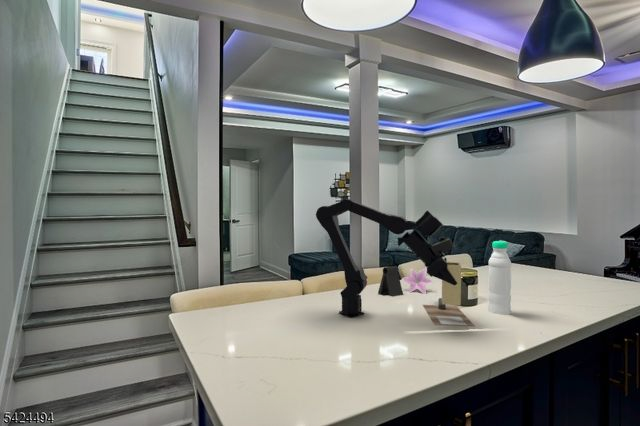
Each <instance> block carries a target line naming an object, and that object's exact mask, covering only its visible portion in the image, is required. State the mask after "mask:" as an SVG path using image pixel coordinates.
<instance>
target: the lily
mask: <svg viewBox="0 0 640 426" xmlns="http://www.w3.org/2000/svg"><path fill="white" fill-rule="evenodd" d="M427 274H428V273H427V267H424V268H422V269H420V270H419V271H418V272H417V271H416V270H414V269H412V268H410V275H408V276H404V277H402V278H401V279H400V281H403V282H404V283H406V284H409V285H410V286H409V290H408V292H409V293H411V292H413V291H415V290H418V291H420V292H421V293H422V294H423V295H426V293H427V286H426V285H428V284H432V283H433V280H432V279H429V278H427Z"/></svg>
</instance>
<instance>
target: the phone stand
mask: <svg viewBox="0 0 640 426" xmlns="http://www.w3.org/2000/svg"><path fill="white" fill-rule="evenodd" d="M377 294H378V295H380V296H382V297H384V296H385V297H386V296H390V297H392V298H394V297H399V296H404V292H403V288H402V283H401V279H400V275H399V267H398V266H397V265H392V266H384V267H383V268H382V277H381V280H380V285H379V287H378V292H377Z"/></svg>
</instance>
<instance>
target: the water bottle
mask: <svg viewBox="0 0 640 426" xmlns="http://www.w3.org/2000/svg"><path fill="white" fill-rule="evenodd" d="M491 246H492V249H493V252H492V253H491V255H490V257H489V259H488V273H487V275H488V277H487V279H488V280H487V281H488V284H487V285H488V294H487V295H488V296H487V297H488V303H487V304H488V305H487V310H488V312H491V313H493V314H497V315H511V313H512V310H511V309H512V306H511V301H512V295H511V289H512V270H511V269H512V268H511V267H512V262H511V258H510V257H509V255H508V252H507V250H508V248H509V247H508V242H507V241H502V240H495V241H494V240H493V242H492V245H491Z"/></svg>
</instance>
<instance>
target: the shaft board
mask: <svg viewBox="0 0 640 426" xmlns="http://www.w3.org/2000/svg"><path fill="white" fill-rule="evenodd" d="M437 301H438V302H437V303H438V304H422V308H424V310H425V311H426V313H427V315H428V317H429V318H430V319H431V321H432V323H433V325H434V326H451V327H453V326H458V327H476V325H475V324H474V323H473V322H472V321H471V320H470V319H469V318H468V317H467V316H466V314H465V313H463V312H462V310H461V309H460V308H459V307H458V306H457V305H445V304H442V297H439V298H438V300H437ZM474 329H476V328H473V330H474Z"/></svg>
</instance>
